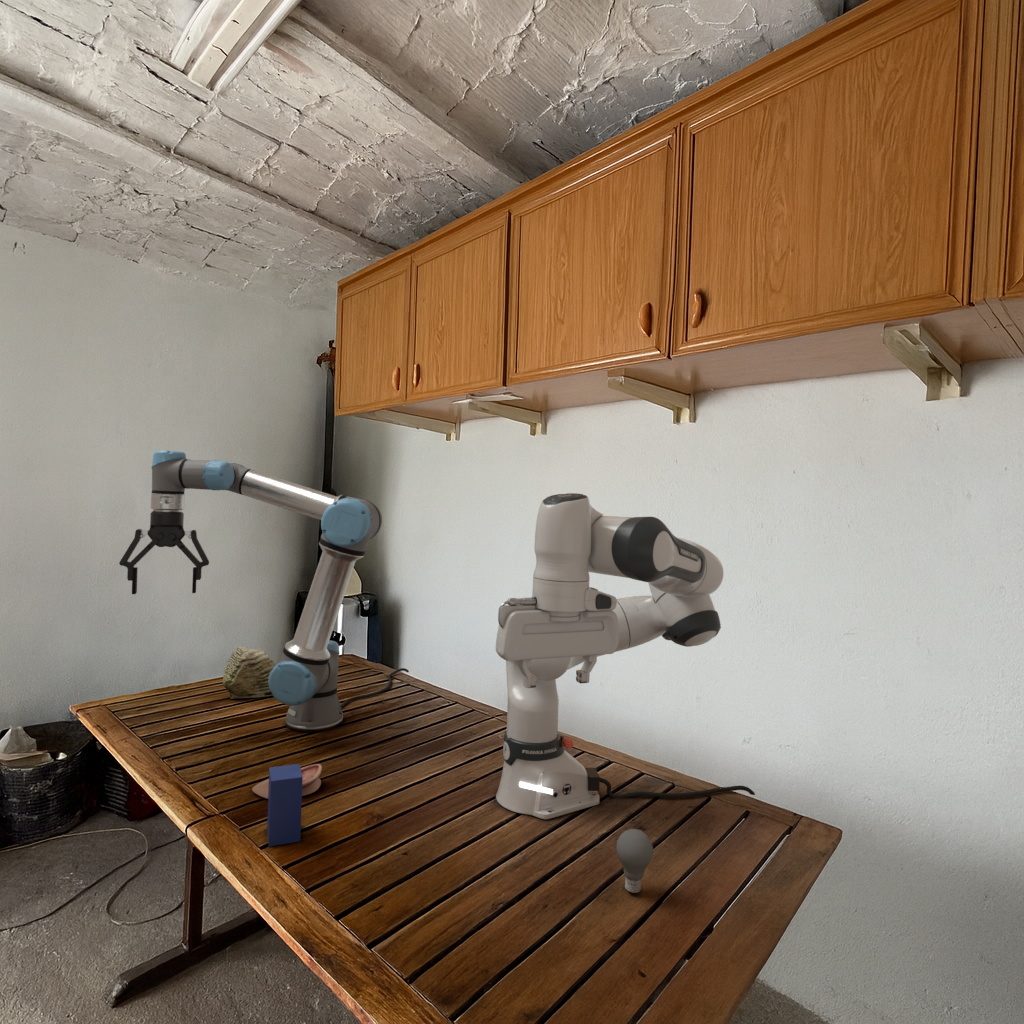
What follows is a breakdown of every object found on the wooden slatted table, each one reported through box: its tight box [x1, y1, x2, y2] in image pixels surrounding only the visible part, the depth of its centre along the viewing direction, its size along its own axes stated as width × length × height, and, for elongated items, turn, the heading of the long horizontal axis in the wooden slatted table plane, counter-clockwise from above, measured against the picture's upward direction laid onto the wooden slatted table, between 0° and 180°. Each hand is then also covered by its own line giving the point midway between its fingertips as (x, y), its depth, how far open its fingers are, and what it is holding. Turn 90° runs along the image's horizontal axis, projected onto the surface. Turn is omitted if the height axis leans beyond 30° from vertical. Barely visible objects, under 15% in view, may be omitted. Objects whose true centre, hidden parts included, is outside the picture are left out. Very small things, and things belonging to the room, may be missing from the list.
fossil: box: [222, 646, 277, 699], centre depth 198 cm, size 9×18×15 cm, turn 132°
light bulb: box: [615, 828, 654, 894], centre depth 106 cm, size 6×6×10 cm
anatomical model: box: [251, 763, 323, 800], centre depth 137 cm, size 13×4×12 cm
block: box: [266, 763, 303, 847], centre depth 118 cm, size 6×6×12 cm
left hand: (164, 593), depth 163 cm, fingers open, 13 cm apart
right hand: (556, 684), depth 99 cm, fingers open, 8 cm apart
